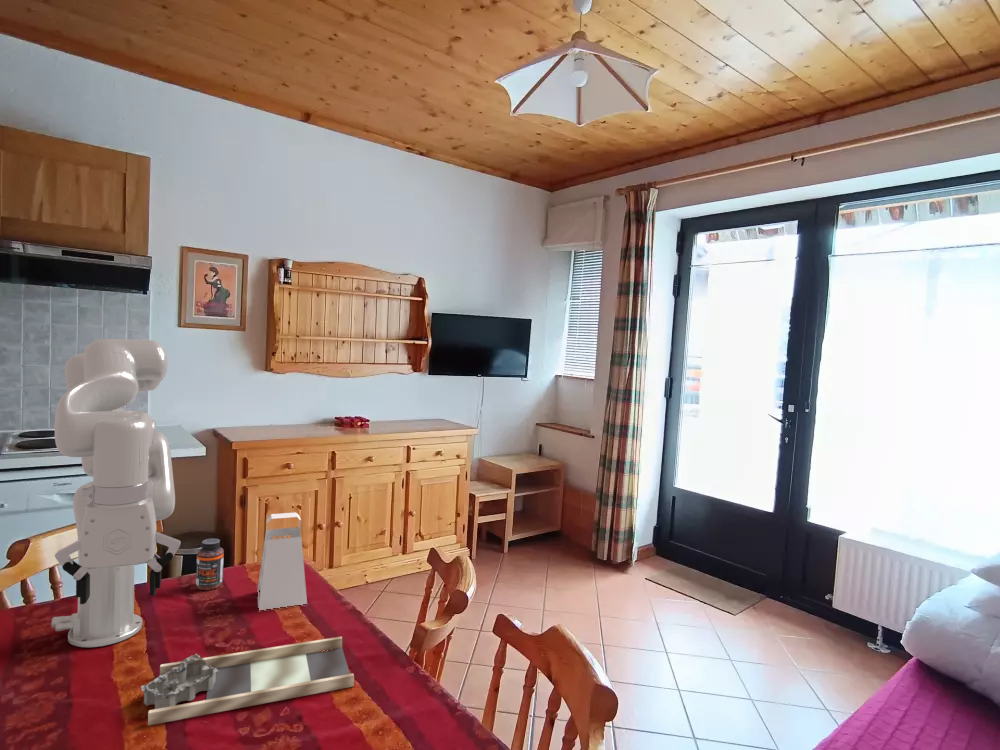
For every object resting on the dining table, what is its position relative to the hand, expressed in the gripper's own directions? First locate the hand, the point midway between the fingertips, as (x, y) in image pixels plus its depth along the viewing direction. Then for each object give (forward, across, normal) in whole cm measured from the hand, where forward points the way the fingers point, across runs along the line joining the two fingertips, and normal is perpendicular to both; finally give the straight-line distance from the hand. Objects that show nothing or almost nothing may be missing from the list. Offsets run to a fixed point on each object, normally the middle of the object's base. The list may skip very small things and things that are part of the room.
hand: (119, 596), depth 95 cm
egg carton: (+19, +9, 0) cm, 21 cm away
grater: (+19, +28, +33) cm, 47 cm away
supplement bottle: (+18, +12, +46) cm, 50 cm away
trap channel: (+19, +21, 0) cm, 28 cm away
